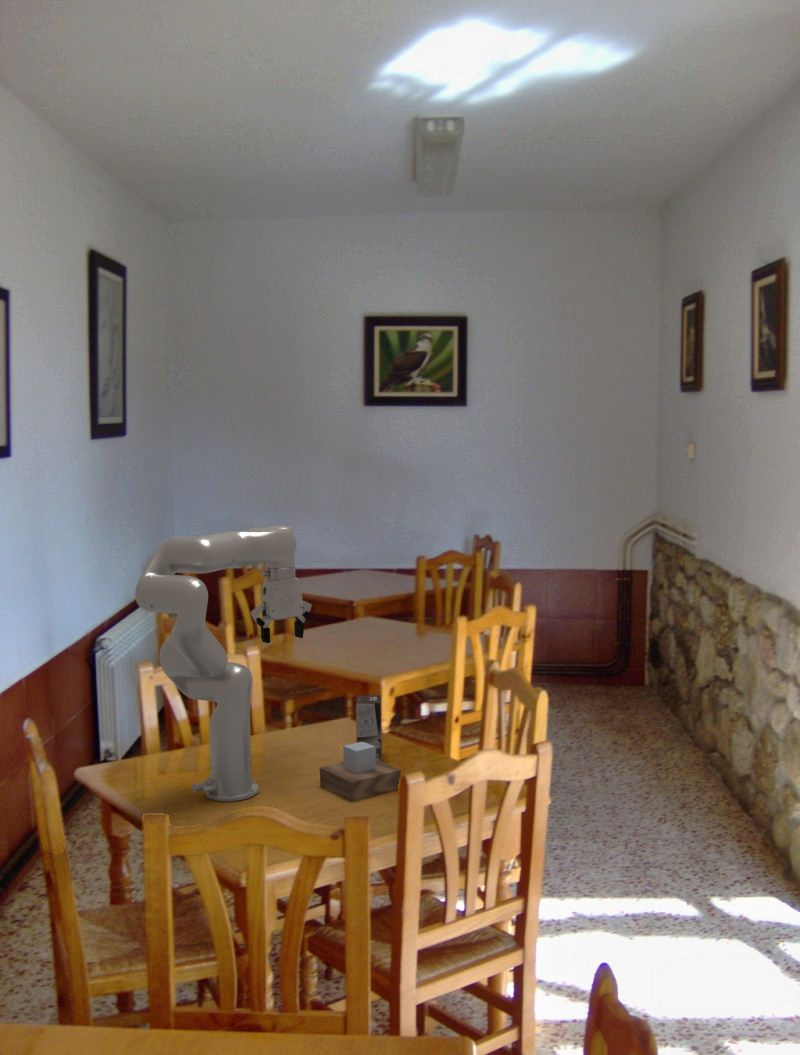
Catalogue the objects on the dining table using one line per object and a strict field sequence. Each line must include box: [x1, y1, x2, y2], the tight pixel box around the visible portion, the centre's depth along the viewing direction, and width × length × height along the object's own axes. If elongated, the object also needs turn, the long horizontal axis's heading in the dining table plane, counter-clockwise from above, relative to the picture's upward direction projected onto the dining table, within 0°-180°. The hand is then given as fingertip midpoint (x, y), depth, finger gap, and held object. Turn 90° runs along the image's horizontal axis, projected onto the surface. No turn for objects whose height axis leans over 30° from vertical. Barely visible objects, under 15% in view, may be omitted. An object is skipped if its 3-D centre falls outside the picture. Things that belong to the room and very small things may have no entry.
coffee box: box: [355, 694, 383, 762], centre depth 277 cm, size 9×6×16 cm
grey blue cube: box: [343, 742, 376, 774], centre depth 256 cm, size 6×6×6 cm
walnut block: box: [319, 760, 402, 803], centre depth 256 cm, size 14×14×5 cm
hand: (282, 639), depth 274 cm, fingers open, 9 cm apart
